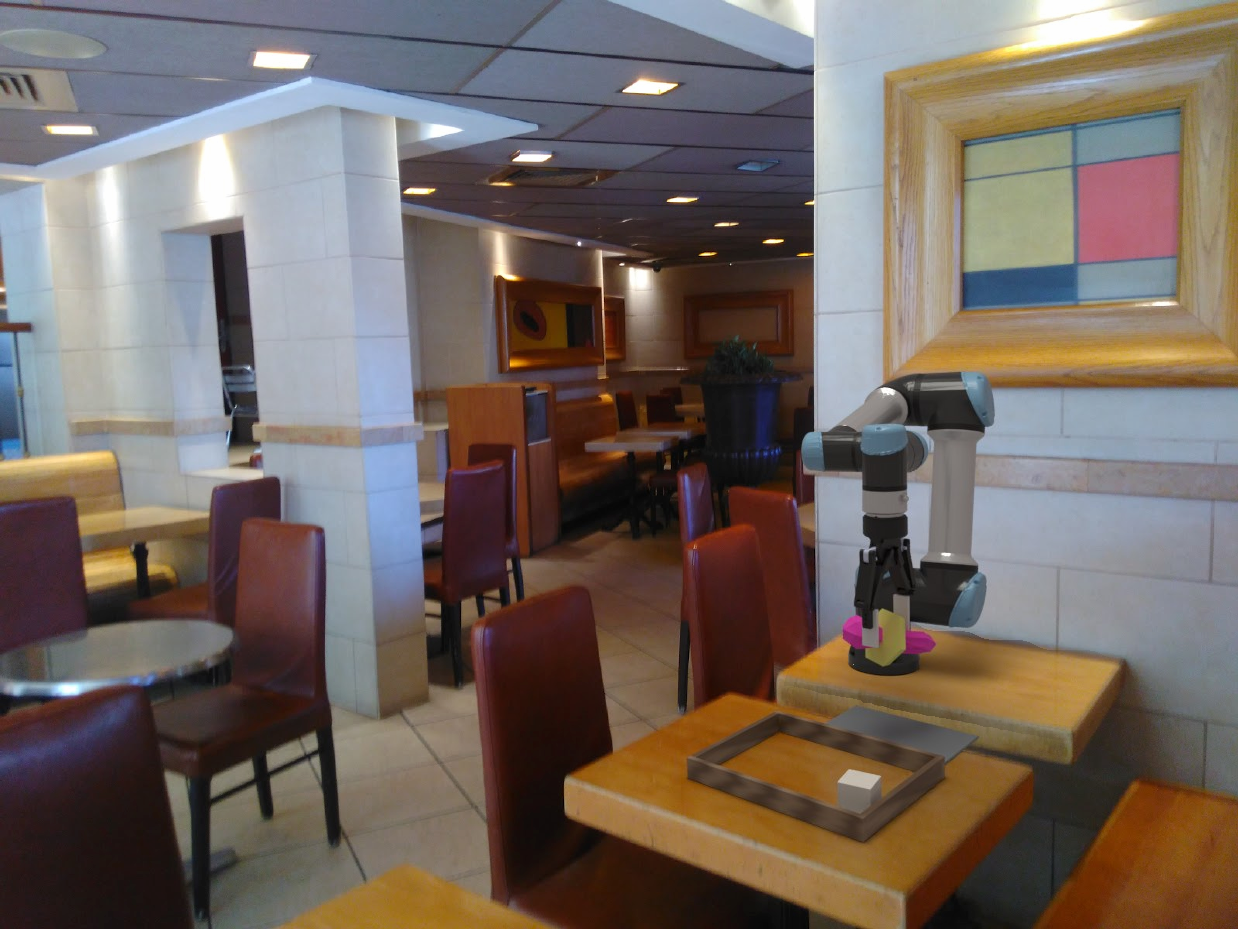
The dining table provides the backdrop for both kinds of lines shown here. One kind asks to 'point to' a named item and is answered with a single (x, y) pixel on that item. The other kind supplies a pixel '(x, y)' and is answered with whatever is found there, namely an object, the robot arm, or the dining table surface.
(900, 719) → the mat
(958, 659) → the dining table surface
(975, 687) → the dining table surface
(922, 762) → the brown wooden frame
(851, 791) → the cream block
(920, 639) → the toy
